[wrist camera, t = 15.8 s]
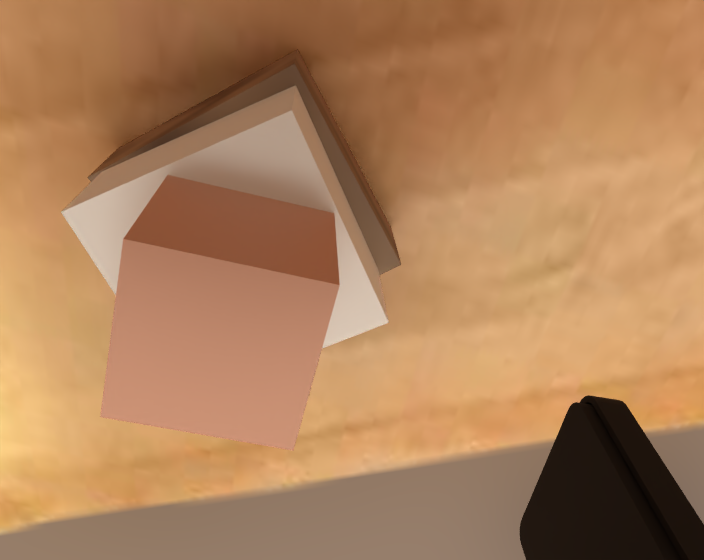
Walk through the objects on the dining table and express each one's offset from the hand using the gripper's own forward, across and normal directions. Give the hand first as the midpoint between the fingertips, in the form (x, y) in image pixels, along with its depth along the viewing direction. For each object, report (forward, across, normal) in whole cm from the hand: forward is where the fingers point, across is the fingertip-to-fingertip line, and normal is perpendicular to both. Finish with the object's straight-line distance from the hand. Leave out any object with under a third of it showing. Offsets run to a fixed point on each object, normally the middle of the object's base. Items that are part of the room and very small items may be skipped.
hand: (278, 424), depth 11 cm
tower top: (+19, +2, +5) cm, 20 cm away
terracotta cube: (+14, +2, +4) cm, 15 cm away
